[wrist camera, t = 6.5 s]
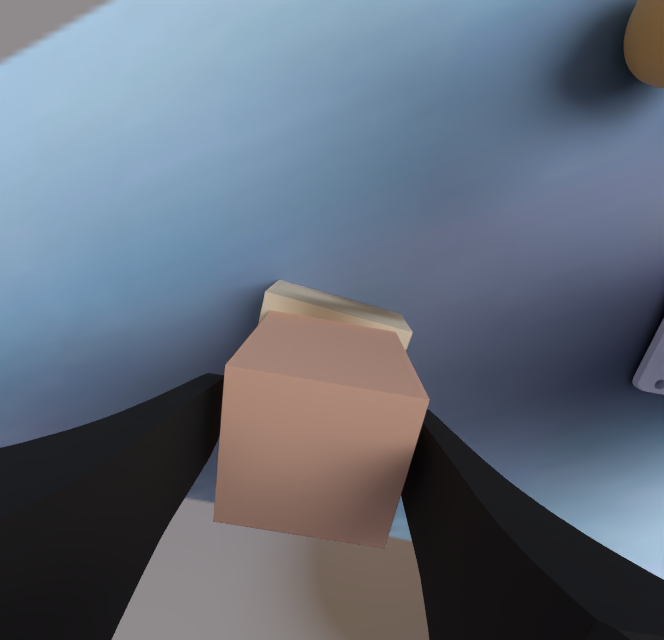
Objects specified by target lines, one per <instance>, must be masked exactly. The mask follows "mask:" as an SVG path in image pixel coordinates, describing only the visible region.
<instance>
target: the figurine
mask: <svg viewBox="0 0 664 640" xmlns="http://www.w3.org/2000/svg"><path fill="white" fill-rule="evenodd" d="M624 56H625V60H626V63H627V66H628V68H629V69H630V71H631V72H632V74H633V75H634V76H635V77H636V78H637V79H639V80H640V81H642V82H643V83H645V84H648V85H650V86H654V87H658V88H664V0H638V1H637V3H636V5H635V7H634V9H633V11H632V13H631V16H630V18H629V21H628V24H627V27H626V31H625V37H624Z"/></svg>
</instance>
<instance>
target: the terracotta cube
mask: <svg viewBox="0 0 664 640" xmlns="http://www.w3.org/2000/svg"><path fill="white" fill-rule="evenodd" d="M429 400H430V399H429V397H428V395H427V393H426V391H425V389H424V387H423V385H422V383H421V381H420V379H419V377H418V375H417V373H416V371H415V369H414V367H413V365H412V363H411V361H410V359H409V357H408V355H407V353H406V351H405V349H404V347H403V345H402V343H401V341H400V339H399V337H398V335H397V333H396V332H395V331H389V330H383V329H377V328H371V327H366V326H360V325H354V324H348V323H343V322H337V321H331V320H325V319H320V318H314V317H308V316H302V315H297V314H291V313H285V312H279V311H274V310H271V311H270V312H269V313H268V314H267V315H266V317H265V318H264V319H263V320H262V321H261V323H260V324H259V325H258V326H257V327H256V329H255V330H254V331H253V332H252V333H251V335H250V336H249V337H248V338H247V340H246V341H245V342H244V343H243V344H242V346H241V347H240V348H239V349H238V350H237V352H236V353H235V354H234V355H233V356H232V358H231V359H230V360H229V361H228V362H227V364H226V365H225V374H224V387H223V401H222V414H221V427H220V441H219V454H218V467H217V480H216V494H215V508H214V520H213V521H214V522H220V523H226V524H233V525H239V526H245V527H251V528H257V529H264V530H270V531H276V532H283V533H289V534H296V535H302V536H308V537H314V538H320V539H326V540H333V541H339V542H345V543H352V544H358V545H364V546H371V547H377V548H383V549H385V545H386V542H387V539H388V535H389V532H390V529H391V526H392V522H393V519H394V516H395V512H396V509H397V506H398V503H399V499H400V496H401V493H402V489H403V486H404V483H405V480H406V476H407V473H408V470H409V466H410V463H411V460H412V456H413V453H414V450H415V447H416V443H417V440H418V437H419V433H420V430H421V427H422V424H423V420H424V417H425V414H426V410H427V407H428V404H429Z"/></svg>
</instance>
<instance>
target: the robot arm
mask: <svg viewBox="0 0 664 640" xmlns="http://www.w3.org/2000/svg"><path fill="white" fill-rule="evenodd" d="M657 381H658V382H657ZM656 382H657V383H656ZM655 383H656V384H655ZM633 385H634V386H635V387H636V388H638V389H640V390H642V391H645V392H651V393H657V394H663V395H664V318H663V320H662V322H661V324H660V326H659V328H658V330H657V332H656V334H655V336H654V338H653V340H652V342H651V344H650V346H649V348H648V350H647V352H646V354H645V356H644V358H643V360H642V362H641V364H640V366H639V368H638V369H637V371H636V373H635V375H634V377H633ZM223 387H224V376H223V375H217V374H211V373H207V374H205V375H202V376H200V377H198V378H195V379H193V380H191V381H189V382H187V383H185V384H183V385H181V386H179V387H176V388H174V389H172V390H170V391H168V392H166V393H164V394H161V395H159V396H157V397H155V398H153V399H150V400H148V401H146V402H143V403H141V404H138V405H136V406H134V407H131V408H129V409H127V410H124V411H122V412H119V413H117V414H114V415H111V416H109V417H106V418H103V419H100V420H97V421H94V422H91V423H88V424H85V425H82V426H79V427H76V428H73V429H70V430H67V431H63V432H59V433H56V434H52V435H48V436H45V437H41V438H38V439H34V440H30V441H27V442H23V443H19V444H15V445H11V446H7V447H3V448H0V640H111V639H112V637H113V635H114V633H115V631H116V629H117V626H118V624H119V622H120V620H121V618H122V616H123V614H124V612H125V609H126V608H127V605H128V603H129V601H130V599H131V597H132V595H133V593H134V591H135V589H136V587H137V585H138V583H139V580H140V578H141V576H142V574H143V572H144V570H145V568H146V566H147V564H148V562H149V560H150V558H151V556H152V554H153V552H154V550H155V548H156V546H157V544H158V542H159V540H160V539H161V537H162V535H163V533H164V531H165V530H166V528H167V526H168V524H169V522H170V521H171V519H172V518H173V516H174V514H175V513H176V511H177V510H178V508H179V506H180V505H181V503H182V502H183V500H184V498H185V497H186V495H187V493H188V492H189V490H190V489H191V487H192V485H193V484H194V482H195V480H196V479H197V477H198V476H199V474H200V472H201V471H202V469H203V467H204V466H205V464H206V462H207V461H208V459H209V457H210V456H211V453H212V451H213V449H214V447H215V445H216V443H217V440H218V438H219V436H220V427H221V414H222V401H223ZM401 497H402V501H403V505H404V509H405V513H406V518H407V522H408V526H409V530H410V534H411V538H412V542H413V546H414V550H415V555H416V559H417V563H418V568H419V573H420V578H421V584H422V591H423V597H424V603H425V610H426V617H427V624H428V632H429V639H430V640H664V580H663V579H661V578H659V577H658V576H656V575H654V574H652V573H650V572H648V571H647V570H645V569H643V568H641V567H640V566H638V565H636V564H634V563H633V562H631V561H629V560H627V559H626V558H624V557H622V556H620V555H619V554H617V553H615V552H614V551H612V550H610V549H608V548H607V547H605V546H604V545H602V544H600V543H599V542H597V541H595V540H594V539H592V538H590V537H589V536H587V535H585V534H584V533H582V532H581V531H579V530H578V529H576V528H575V527H573V526H572V525H570V524H569V523H567V522H565V521H564V520H562V519H561V518H559V517H558V516H556V515H555V514H553V513H552V512H550V511H549V510H548V509H546V508H545V507H543V506H542V505H540V504H539V503H538V502H536V501H535V500H533V499H532V498H531V497H529V496H528V495H527V494H525V493H524V492H523V491H521V490H520V489H519V488H517V487H516V486H515V485H513V484H512V483H511V482H509V481H508V480H507V479H506V478H504V477H503V476H502V475H501V474H500V473H498V472H497V471H496V470H495V469H494V468H492V467H491V466H490V465H489V464H488V463H486V462H485V461H484V460H483V459H482V458H481V457H480V456H478V455H477V454H476V453H475V452H474V451H473V450H472V449H471V448H470V447H468V446H467V445H466V444H465V443H464V442H463V441H462V440H461V439H460V438H459V437H458V436H457V435H456V434H455V433H453V432H452V431H451V430H450V429H449V428H448V427H447V426H446V425H445V424H444V423H443V422H442V421H441V420H440V419H439V418H438V417H436V416H435V415H434V414H433V413H432V412H431V411H429V410H428V409H427V410H426V414H425V417H424V420H423V424H422V427H421V430H420V433H419V437H418V440H417V443H416V447H415V450H414V453H413V456H412V460H411V463H410V466H409V470H408V473H407V476H406V480H405V483H404V486H403V489H402V493H401Z"/></svg>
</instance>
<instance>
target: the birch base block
mask: <svg viewBox="0 0 664 640" xmlns="http://www.w3.org/2000/svg"><path fill="white" fill-rule="evenodd" d="M271 310H274V311H279V312H285V313H291V314H297V315H302V316H308V317H314V318H320V319H325V320H331V321H337V322H343V323H348V324H354V325H360V326H366V327H371V328H377V329H383V330H389V331H395V332H396V333H397V335H398V337H399V339H400V341H401V343H402V345H403V347H404V349H405V351H406V349H407V347H408V344H409V341H410V339H411V336H412V334H413V332H412V330H411V329H410V327H409V326H408V324H407V323H406V321H405V320H404V318H403V317H402V315H401V314H399V313H395V312H392V311H388V310H385V309H381V308H378V307H374V306H371V305H367V304H363V303H360V302H356V301H353V300H349V299H346V298H342V297H339V296H335V295H332V294H328V293H324V292H321V291H317V290H314V289H310V288H307V287H303V286H300V285H296V284H293V283H289V282H285V281H282V280H278V281H277V282H276V283H274V284H273V285H272V286H271V287H270V288H269V289H268V290H266V291H265V295H264V300H263V304H262V309H261V314H260V318H259V323H258V325H259V324H260V323H261V321H262V320H263V319H264V318H265V317H266V315H267V314H268V313H269V312H270V311H271Z"/></svg>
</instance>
